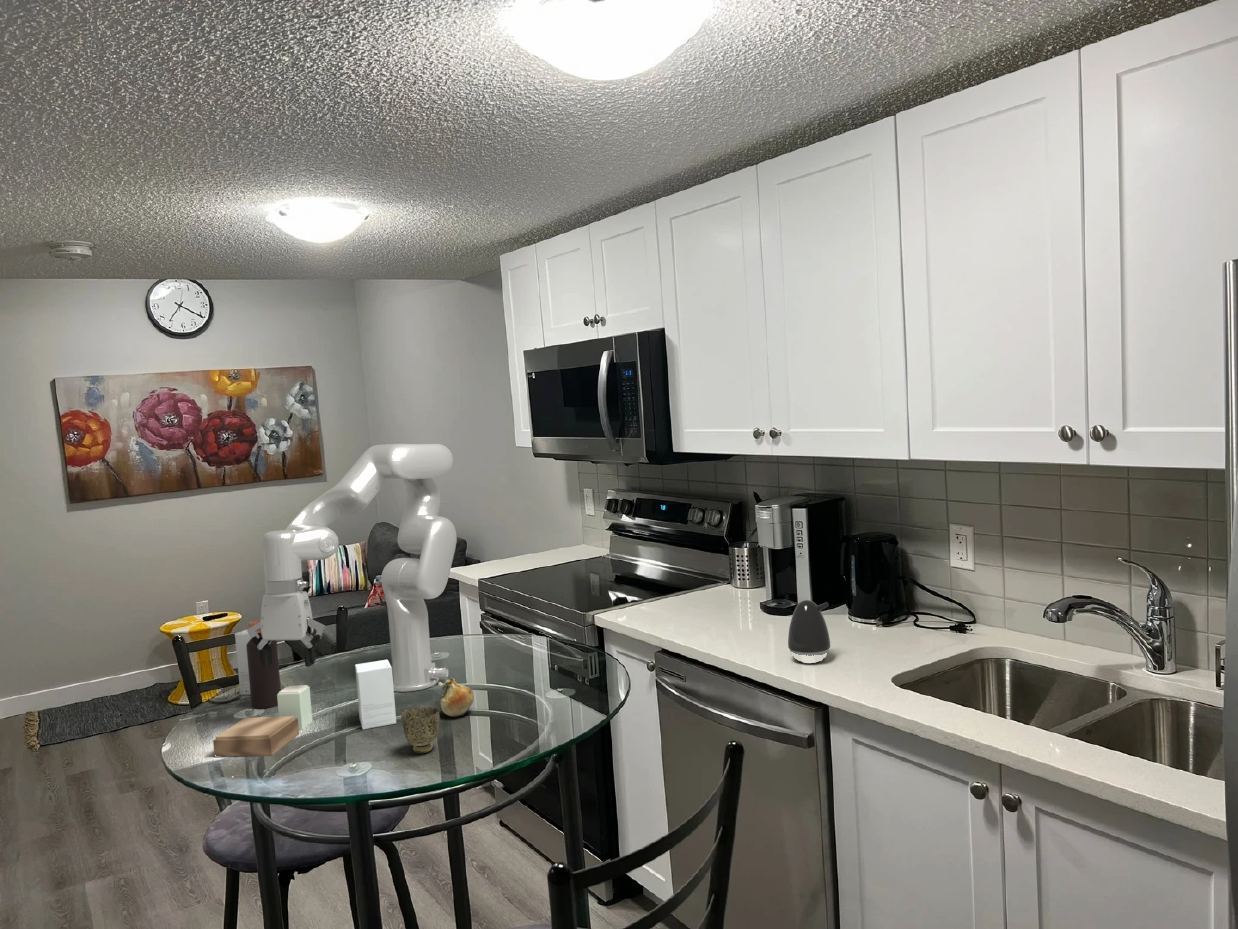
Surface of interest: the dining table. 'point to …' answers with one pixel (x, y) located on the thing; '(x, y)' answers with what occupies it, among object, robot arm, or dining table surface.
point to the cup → (421, 727)
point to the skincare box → (243, 661)
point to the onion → (455, 698)
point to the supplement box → (375, 694)
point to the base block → (256, 736)
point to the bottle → (263, 675)
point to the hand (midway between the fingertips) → (288, 665)
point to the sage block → (296, 704)
